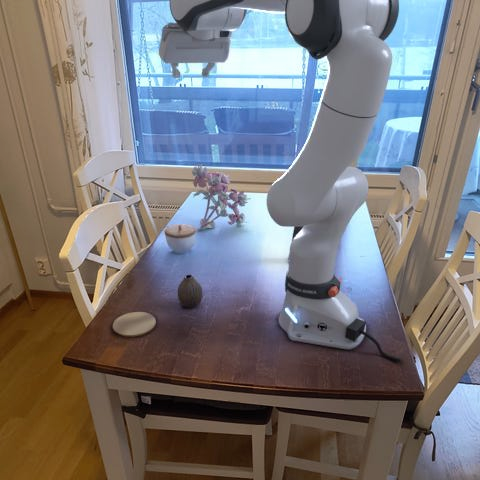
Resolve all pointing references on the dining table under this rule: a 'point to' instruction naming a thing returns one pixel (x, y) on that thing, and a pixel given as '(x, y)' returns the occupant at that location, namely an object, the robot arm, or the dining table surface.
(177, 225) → the trinket box
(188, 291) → the vase
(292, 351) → the dining table surface
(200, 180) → the flower
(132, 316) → the cork trivet
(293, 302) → the robot arm
